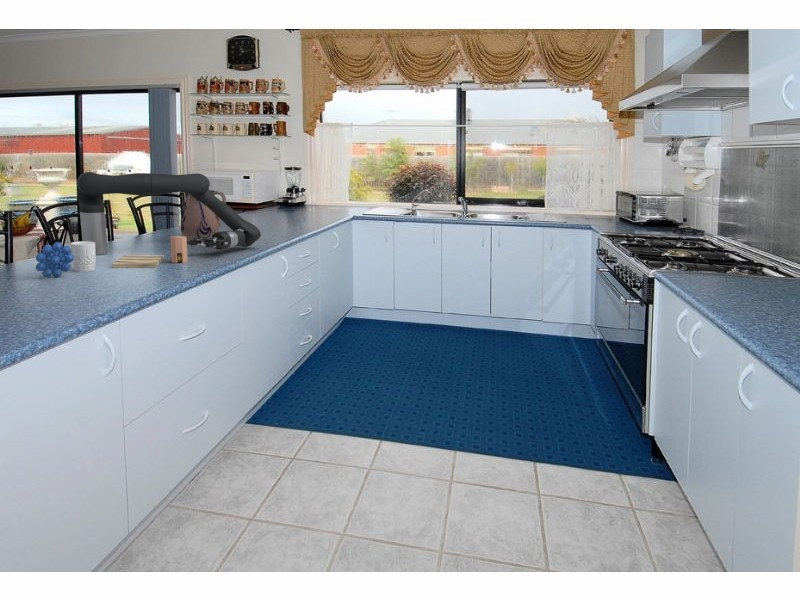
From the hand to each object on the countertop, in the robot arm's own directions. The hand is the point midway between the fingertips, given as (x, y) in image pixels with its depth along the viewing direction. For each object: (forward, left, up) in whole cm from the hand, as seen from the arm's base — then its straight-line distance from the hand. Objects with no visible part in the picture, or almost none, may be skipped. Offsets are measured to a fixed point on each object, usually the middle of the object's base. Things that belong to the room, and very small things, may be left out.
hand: (198, 244), depth 256 cm
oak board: (+12, -21, -6) cm, 25 cm away
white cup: (+27, -36, -6) cm, 45 cm away
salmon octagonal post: (+9, -6, -6) cm, 12 cm away
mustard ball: (+9, -6, -4) cm, 11 cm away
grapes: (+39, -42, -6) cm, 58 cm away
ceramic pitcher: (-46, -2, -6) cm, 47 cm away
